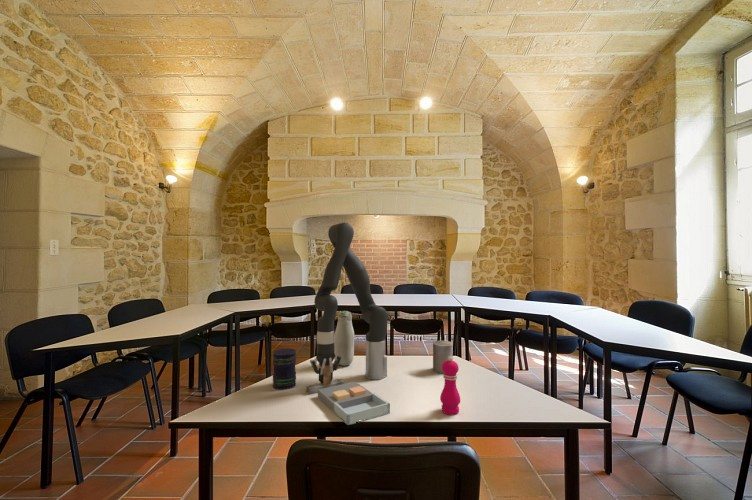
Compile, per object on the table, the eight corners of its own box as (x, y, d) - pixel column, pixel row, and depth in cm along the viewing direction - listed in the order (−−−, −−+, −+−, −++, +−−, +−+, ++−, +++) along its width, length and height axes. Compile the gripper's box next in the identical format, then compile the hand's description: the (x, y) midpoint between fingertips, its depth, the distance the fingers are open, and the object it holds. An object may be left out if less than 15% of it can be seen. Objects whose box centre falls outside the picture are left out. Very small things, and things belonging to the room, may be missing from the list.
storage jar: (278, 391, 145) (279, 356, 145) (268, 385, 152) (268, 351, 152) (300, 385, 151) (300, 351, 151) (289, 379, 159) (289, 347, 159)
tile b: (344, 393, 136) (344, 389, 136) (350, 397, 131) (350, 393, 131) (332, 396, 133) (332, 392, 133) (338, 400, 129) (338, 396, 129)
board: (355, 388, 148) (355, 381, 148) (374, 402, 135) (374, 394, 135) (317, 396, 139) (317, 389, 139) (334, 412, 126) (334, 404, 126)
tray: (374, 402, 135) (374, 393, 135) (389, 413, 125) (389, 403, 125) (334, 412, 126) (334, 402, 126) (347, 425, 116) (347, 414, 116)
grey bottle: (332, 367, 176) (332, 312, 176) (338, 361, 186) (338, 309, 186) (351, 368, 174) (351, 312, 174) (355, 362, 184) (355, 309, 185)
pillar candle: (432, 366, 177) (432, 337, 177) (452, 367, 176) (452, 338, 176) (433, 373, 167) (433, 342, 167) (453, 374, 166) (453, 343, 166)
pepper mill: (456, 417, 122) (456, 360, 122) (437, 412, 126) (437, 357, 126) (463, 409, 128) (462, 355, 128) (444, 405, 132) (444, 352, 132)
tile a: (360, 389, 139) (360, 385, 139) (366, 394, 135) (366, 390, 135) (348, 392, 137) (348, 388, 137) (354, 396, 132) (354, 392, 132)
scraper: (340, 384, 154) (340, 360, 154) (344, 387, 150) (344, 363, 150) (306, 391, 145) (306, 366, 145) (309, 395, 142) (309, 369, 142)
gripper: (337, 337, 155) (337, 376, 155) (307, 341, 147) (306, 382, 147) (344, 341, 148) (344, 381, 148) (313, 345, 141) (313, 388, 141)
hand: (325, 381), depth 148 cm, fingers closed on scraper, 3 cm apart
